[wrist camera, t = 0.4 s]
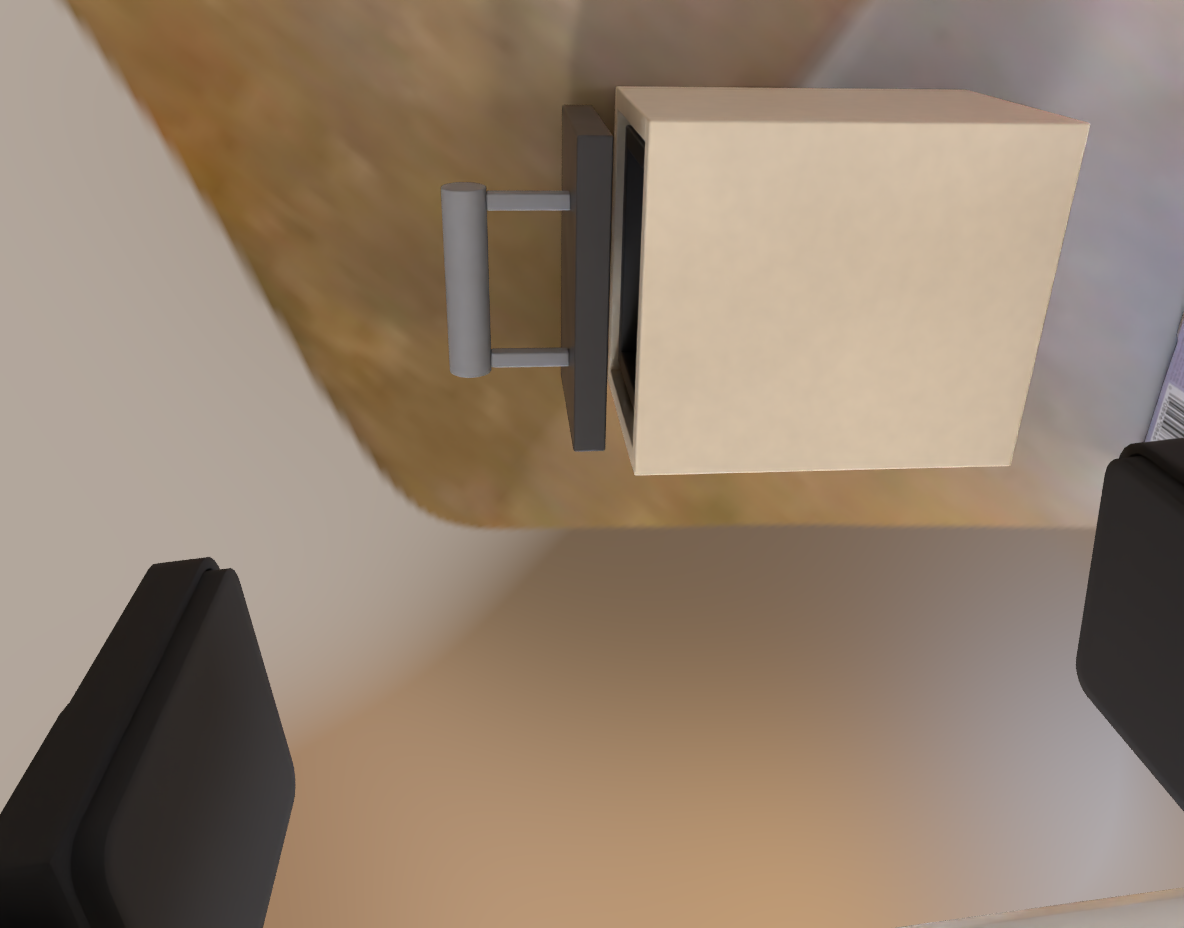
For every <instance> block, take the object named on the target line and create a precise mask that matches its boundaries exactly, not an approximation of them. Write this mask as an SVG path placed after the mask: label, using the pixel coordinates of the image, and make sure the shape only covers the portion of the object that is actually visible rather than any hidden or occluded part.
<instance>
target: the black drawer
mask: <svg viewBox="0 0 1184 928" xmlns="http://www.w3.org/2000/svg"><path fill="white" fill-rule="evenodd" d="M613 141H614V138H613V135H612V134H611V133H610V131H609V130H608V128H607V127H606V125H605V124H604V122H603V121H602V120H601V118H600V117H599V115H598V114H597V112H596V111H595V109H594V108H593V107H592V105H563V106H562V191H487V192H486V186H485V185H482V184H479V183H471V182H456V183H449V184H445V185H443V186H441V201H442V221H443V241H444V261H445V281H446V301H447V321H448V341H449V361H450V372H451V373H452V374H454V375H456V376H459V377H467V378H472V377H480V376H484V375H486V374H488V373H490V371H491V366H492V367H546V366H561V378H562V384H563V390H564V396H565V402H566V408H567V414H568V420H569V426H570V432H571V438H572V444H573V449H574V451H604V450H605V439H606V402H607V364H608V327H609V290H610V253H611V215H612V178H613ZM644 158H645V141H644V139H643V138H642V137H641V136H640V135H639V134H638V132H637V131H636V130H635V129H634V128H633V127H632V125H627V126H626V132H625V163H624V195H623V226H622V257H621V289H620V320H619V351H618V362H619V365H620V368H621V372H622V375H623V378H624V381H625V384H626V387H627V391H628V394H629V397H630V400H631V403H632V407H633V410H634V403H635V379H636V354H637V330H638V305H639V280H640V256H641V231H642V207H643V182H644ZM487 210H488V211H489V210H562V240H561V348H497V349H491V335H490V301H489V268H488V234H487Z"/></svg>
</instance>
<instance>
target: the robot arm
mask: <svg viewBox="0 0 1184 928" xmlns="http://www.w3.org/2000/svg"><path fill="white" fill-rule="evenodd" d="M1076 669H1077V675H1078V679H1079V682H1080V685H1081V687H1082V689H1083V691H1084V692H1085V694H1086V695H1087V697H1088V698H1089V699H1090V700H1091V701H1092V702H1093V704H1094V705H1095V706H1096V707H1097V708H1098V710H1099V711H1100V712H1101V713H1102V714H1103V715H1104V717H1105V718H1106V719H1107V720H1108V722H1109V723H1110V724H1111V725H1112V726H1113V728H1114V729H1115V730H1116V731H1117V732H1118V734H1119V735H1120V736H1121V737H1122V738H1123V739H1124V741H1125V742H1126V743H1127V744H1128V745H1129V747H1130V748H1131V749H1132V750H1133V751H1134V753H1135V754H1136V755H1137V756H1138V757H1139V759H1140V760H1141V761H1142V762H1143V763H1144V765H1145V766H1146V767H1147V768H1148V769H1149V770H1150V771H1151V773H1152V774H1153V775H1154V776H1155V778H1156V779H1157V780H1158V781H1159V783H1160V784H1161V785H1162V786H1163V787H1164V788H1165V790H1166V791H1167V792H1168V793H1169V794H1170V796H1171V797H1172V798H1173V799H1174V800H1175V802H1176V803H1177V804H1178V805H1179V806H1180V808H1181V809H1182V810H1183V811H1184V438H1175V439H1167V440H1158V441H1150V442H1142V443H1134V444H1130V445H1128V446H1127V447H1125V448H1124V450H1123V451H1122V453H1121V454H1120V457H1119V459H1114V460H1113V461H1111V462H1110V463H1109V465H1108V467H1107V469H1106V472H1105V477H1104V483H1103V490H1102V496H1101V503H1100V509H1099V515H1098V522H1097V528H1096V535H1095V541H1094V548H1093V554H1092V561H1091V568H1090V574H1089V580H1088V587H1087V593H1086V600H1085V606H1084V612H1083V620H1082V625H1081V631H1080V638H1079V644H1078V651H1077V657H1076ZM294 797H295V773H294V767H293V762H292V758H291V755H290V752H289V748H288V745H287V741H286V738H285V735H284V731H283V728H282V724H281V721H280V718H279V714H278V711H277V707H276V704H275V700H274V697H273V694H272V690H271V687H270V683H269V680H268V677H267V673H266V669H265V666H264V663H263V659H262V656H261V652H260V649H259V646H258V642H257V639H256V635H255V632H254V629H253V625H252V622H251V618H250V615H249V612H248V608H247V605H246V601H245V598H244V594H243V591H242V587H241V584H240V581H239V578H238V576H237V574H236V572H235V571H234V570H233V569H231V568H229V569H219V566H218V565H217V563H216V562H215V560H213V559H212V558H210V557H206V558H199V559H190V560H182V561H173V562H166V563H158V564H153V565H152V566H151V567H150V568H149V569H148V571H147V573H146V574H145V576H144V578H143V579H142V581H141V583H140V584H139V586H138V588H137V590H136V591H135V593H134V595H133V596H132V598H131V600H130V602H129V603H128V605H127V606H126V608H125V610H124V612H123V613H122V615H121V616H120V618H119V620H118V622H117V623H116V625H115V627H114V628H113V630H112V632H111V633H110V635H109V637H108V639H107V640H106V642H105V644H104V645H103V647H102V649H101V650H100V652H99V654H98V655H97V657H96V659H95V660H94V662H93V664H92V666H91V667H90V669H89V671H88V672H87V674H86V676H85V677H84V679H83V681H82V682H81V684H80V686H79V688H78V689H77V691H76V693H75V695H74V696H73V698H72V699H71V701H70V703H69V704H68V705H67V706H66V707H65V709H64V710H63V711H62V712H61V713H60V715H59V716H58V718H57V720H56V722H55V723H54V725H53V727H52V728H51V730H50V732H49V733H48V735H47V737H46V738H45V740H44V742H43V743H42V745H41V747H40V749H39V750H38V752H37V753H36V755H35V757H34V759H33V760H32V762H31V763H30V765H29V767H28V769H27V770H26V772H25V774H24V775H23V777H22V779H21V780H20V782H19V784H18V785H17V787H16V789H15V790H14V792H13V794H12V796H11V797H10V799H9V801H8V802H7V804H6V806H5V807H4V809H3V811H2V812H1V814H0V928H263V925H264V921H265V917H266V913H267V908H268V905H269V900H270V896H271V892H272V888H273V884H274V880H275V876H276V872H277V867H278V864H279V859H280V855H281V851H282V847H283V843H284V839H285V835H286V831H287V826H288V823H289V819H290V815H291V810H292V806H293V802H294ZM897 928H1184V888H1177V889H1170V890H1162V891H1155V892H1149V893H1140V894H1133V895H1126V896H1118V897H1111V898H1104V899H1096V900H1089V901H1082V902H1074V903H1067V904H1060V905H1053V906H1046V907H1039V908H1031V909H1025V910H1017V911H1010V912H1004V913H996V914H989V915H982V916H975V917H968V918H962V919H954V920H947V921H940V922H932V923H925V924H918V925H911V926H905V927H897Z"/></svg>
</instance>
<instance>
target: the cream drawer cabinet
mask: <svg viewBox="0 0 1184 928" xmlns="http://www.w3.org/2000/svg"><path fill="white" fill-rule="evenodd" d="M627 125H632V127H633V128H634V129H635V130H636V131H637V132H638V134H639V135H640V136H641V137H642V138H643V139H644V141H645V158H644V182H643V207H642V231H641V256H640V280H639V305H638V330H637V354H636V379H635V403H634V410H633V407H632V403H631V400H630V397H629V394H628V391H627V387H626V384H625V381H624V378H623V375H622V372H621V368H620V365H619V362H618V351H619V320H620V289H621V257H622V226H623V195H624V163H625V132H626V126H627ZM1089 129H1090V123H1088V122H1084V121H1080V120H1076V119H1073V118H1069V117H1065V116H1062V115H1058V114H1054V113H1051V112H1047V111H1043V110H1040V109H1036V108H1032V107H1028V106H1025V105H1021V104H1017V103H1014V102H1010V101H1006V100H1003V99H999V98H995V97H991V96H988V95H984V94H980V93H977V92H973V91H969V90H957V89H850V88H744V87H637V86H617V87H616V94H615V131H614V168H613V205H612V242H611V279H610V315H609V352H608V381H609V384H610V389H611V392H612V396H613V400H614V403H615V407H616V411H617V414H618V418H619V421H620V425H621V429H622V432H623V436H624V439H625V443H626V447H627V450H628V454H629V458H630V461H631V465H632V467H633V471H634V474H635V475H669V474H708V473H748V472H787V471H826V470H866V469H905V468H945V467H984V466H1010V465H1011V462H1012V458H1013V453H1014V449H1015V445H1016V440H1017V436H1018V432H1019V428H1020V423H1021V419H1022V415H1023V411H1024V406H1025V402H1026V398H1027V393H1028V389H1029V385H1030V381H1031V376H1032V372H1033V368H1034V364H1035V359H1036V355H1037V351H1038V346H1039V342H1040V338H1041V334H1042V329H1043V325H1044V321H1045V317H1046V312H1047V308H1048V304H1049V299H1050V295H1051V291H1052V287H1053V282H1054V278H1055V274H1056V270H1057V265H1058V261H1059V257H1060V252H1061V248H1062V244H1063V240H1064V235H1065V231H1066V227H1067V223H1068V218H1069V214H1070V210H1071V205H1072V201H1073V197H1074V193H1075V188H1076V184H1077V180H1078V176H1079V171H1080V167H1081V163H1082V159H1083V154H1084V150H1085V146H1086V141H1087V137H1088V133H1089Z"/></svg>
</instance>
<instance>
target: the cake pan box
mask: <svg viewBox="0 0 1184 928" xmlns="http://www.w3.org/2000/svg"><path fill="white" fill-rule="evenodd" d="M1177 338H1178V342H1177V346H1176V349H1175V351H1174V354H1173V357H1172V360H1171V363H1170V366H1169V369H1168V372H1167V375H1166V378H1165V380H1164V383H1163V386H1162V389H1161V393H1160V396H1159V399H1158V402H1157V405H1156V408H1155V411H1154V414H1153V418H1152V421H1151V424H1150V427H1149V430H1148V433H1147V436H1146V439H1145V442H1150V441H1158V440H1167V439H1175V438H1184V312H1183V315H1182V319H1181V322H1180V325H1179V329H1178V332H1177Z"/></svg>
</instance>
